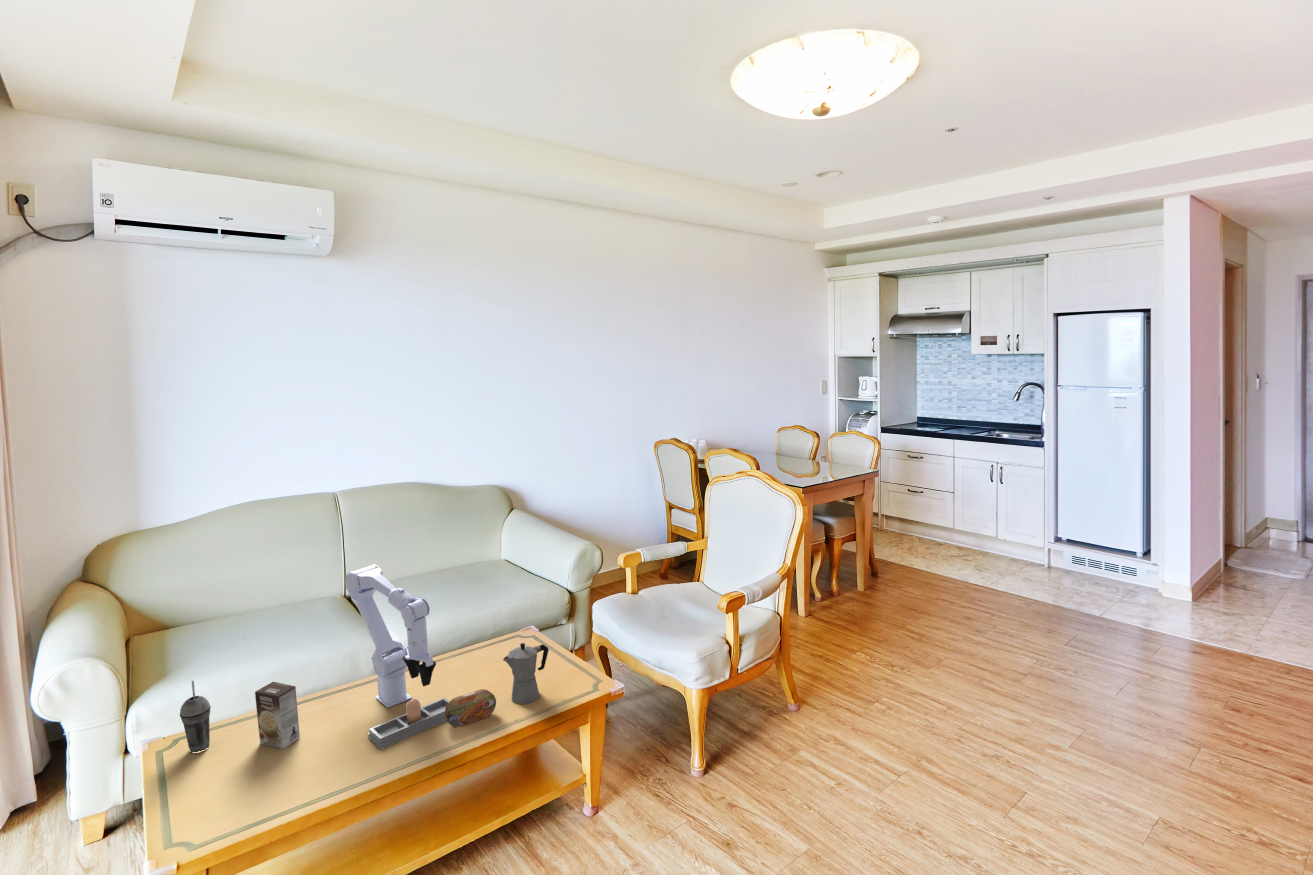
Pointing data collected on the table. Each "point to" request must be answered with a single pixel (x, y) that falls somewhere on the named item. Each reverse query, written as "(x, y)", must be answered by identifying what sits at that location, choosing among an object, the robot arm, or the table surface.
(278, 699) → the coffee box
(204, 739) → the beverage cup
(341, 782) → the table surface
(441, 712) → the grey compartment tray
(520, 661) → the coffeepot
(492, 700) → the tin
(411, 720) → the tan rounded cylinder
